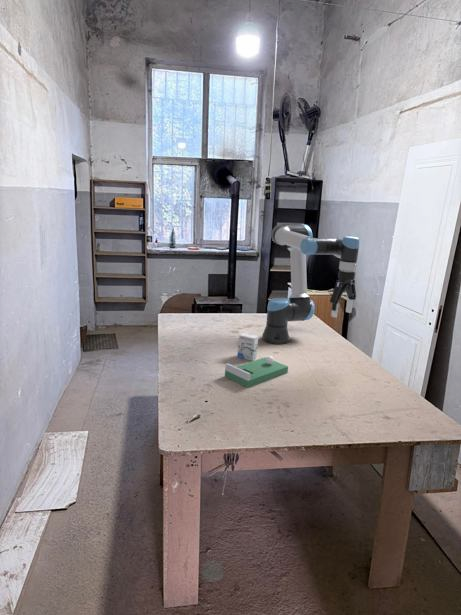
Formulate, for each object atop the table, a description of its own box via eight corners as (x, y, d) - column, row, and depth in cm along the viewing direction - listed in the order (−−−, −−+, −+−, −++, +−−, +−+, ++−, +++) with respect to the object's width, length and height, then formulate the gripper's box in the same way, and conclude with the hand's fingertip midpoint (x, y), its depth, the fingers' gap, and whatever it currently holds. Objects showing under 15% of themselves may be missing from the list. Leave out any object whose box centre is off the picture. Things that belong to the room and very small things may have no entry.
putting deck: (224, 376, 185) (225, 363, 183) (264, 363, 202) (265, 351, 201) (247, 387, 175) (248, 374, 174) (287, 372, 193) (288, 360, 191)
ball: (263, 363, 194) (263, 355, 193) (268, 361, 196) (269, 353, 195) (269, 366, 191) (270, 358, 190) (275, 364, 193) (276, 356, 192)
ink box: (236, 357, 208) (238, 334, 205) (241, 354, 212) (242, 332, 209) (252, 361, 204) (254, 338, 201) (257, 358, 208) (258, 335, 205)
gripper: (340, 274, 184) (334, 321, 190) (367, 269, 202) (361, 312, 208) (325, 271, 189) (320, 317, 195) (352, 267, 207) (347, 308, 213)
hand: (341, 314), depth 201 cm, fingers open, 13 cm apart
